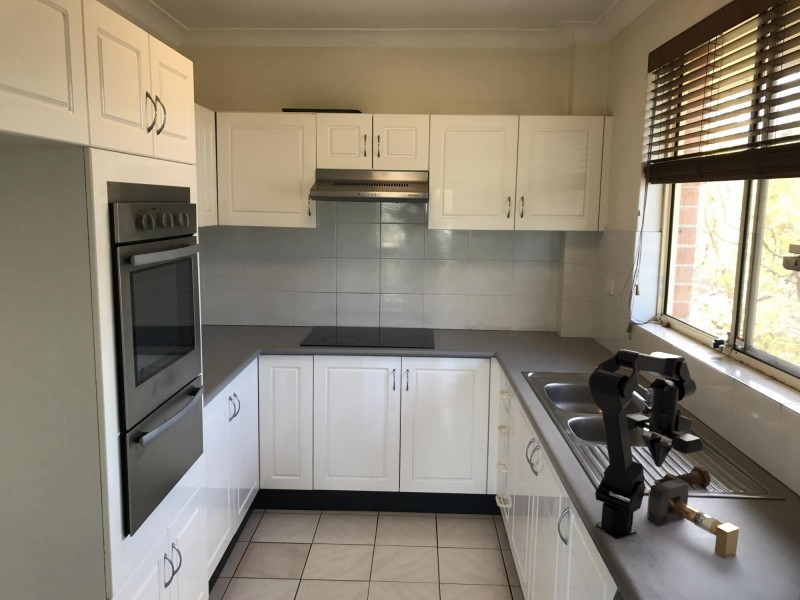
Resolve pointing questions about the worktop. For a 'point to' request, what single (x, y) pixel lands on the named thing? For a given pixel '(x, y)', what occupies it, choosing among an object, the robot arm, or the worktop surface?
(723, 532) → the square head rod
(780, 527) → the worktop surface
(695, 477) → the bolt
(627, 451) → the robot arm
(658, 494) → the dark grey square ring
